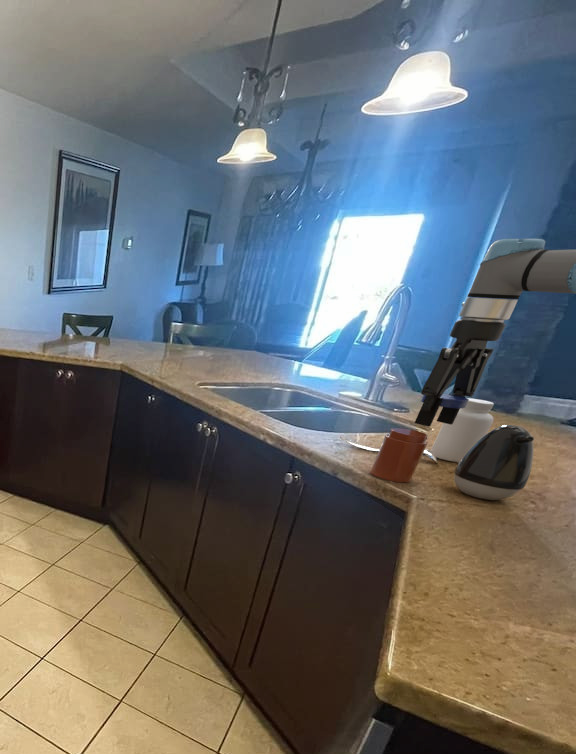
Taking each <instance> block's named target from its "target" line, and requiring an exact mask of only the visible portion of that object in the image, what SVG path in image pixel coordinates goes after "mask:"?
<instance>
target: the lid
mask: <svg viewBox="0 0 576 754" xmlns="http://www.w3.org/2000/svg"><path fill="white" fill-rule="evenodd" d="M426 396H427V395H422V397H421V400H420V402H421V403H423V402H424V400H425V398H426ZM440 398H443V400H442V402H441V404H440V406H439V408H440V407H441V408H443V407H447V408H465V407H466V405H467V403H468V401H469V399H467V398H468V397H465V398H463V397H459V396H454V395H449V394H448V393H443V395H442V396H441V397H440Z"/></svg>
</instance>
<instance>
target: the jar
mask: <svg viewBox="0 0 576 754" xmlns="http://www.w3.org/2000/svg"><path fill="white" fill-rule="evenodd" d="M389 431H390V432H389V433H387V434H385V435H384V438H383V440H382V442H381V446H380V447H379V449H380V450H379V452H378V451H377V452H378V453H377V455H376V457H375V459H374V461H373V464H372V467H371V469H370V471H369V472H370V475H372V476H375V477H377V478H379V479H383V480H386V481H389V482H395V483H410V482H412V481H411V480H412V478H413V476H414V474H415V472H416V470H417V468H418V466H419V463H420V461H421V458H422V457H423V456H424V455H423V452H424V450H425V448H426V449H427V446H428V444H429V442H428V441H427V440H428V436H429V435H428V434H427V433H424V432H422V431H418V430H415V429H414V430H413V429H408V428H399V427H394V428H393V427H392V428H390V429H389Z"/></svg>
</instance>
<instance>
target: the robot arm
mask: <svg viewBox="0 0 576 754" xmlns="http://www.w3.org/2000/svg"><path fill="white" fill-rule="evenodd" d="M545 245H546V240H545V239H542V238H504V239H498V240H496V241H494V242H493V243H492V244H491V245H490V246H489V248H488V250H487V252H486V254H485V255H484V257H483V260H482V261H481V262H480V264H479V267H478V271H477V273H476V274H475V278H474V280H473V283H472V285H471V287H470V289H469V292H468V294H467V296H466V299H465V300H464V301H463V302H462V303H461V309H460V311H459V314H458V317H460V318H461V319H457V320H455V322H454V324H453V327H452V329H451V331H450V333H449V337H451V338H453V339H456V340H455V341H454V343H453V344H452V346H451V347H442V349H441V350H440V351H439V355H438V358H437V361H436V362H435V364H434V366H433V368H432V370H431V371H430V374H429V375H428V378H427V379H426V381H425V383H424V385H423V387H422V388H421V391H420V392H421V394H420V395H422V396H423V395H427V396H426V398H425V400H424V402H422V404H421V407H420V409H419V411H418V414H417V416H416V418H415V420H414V424H416V425H420V426H424V427H428V428H429V427H431V425H432V424H433V421H434V420H435V417H436V415H437V413H438V410H439V408H440V404H441V402H442V400H443V398H440V397H441V396H442V395H443V394H445V392H446V390H447V389H448V388H449V386H450V385H451V383H452V382H453V380H454V384H453V388H452V393H449V394H448V395H454V396H459V397H463V398H466V397H467V398H468V397H469V398H473V396H474V394H475V392H476V391H477V388H478V386H479V383H480V381H481V378H482V377H483V373H484V371H485V368H486V366H487V364H488V361H489V359H490V358H491V355H492V354H493V352H494V348H490V347H487V345H488V342H497V341H498V340H500V338H501V336H502V334H503V332H504V330H505V328H506V323H505V322H504V321H508V320H510V318H511V316H512V314H513V312H514V309H515V307H516V305H517V303H518V300H519V299H520V297H521V295H522V293H523V292H538V293H539V292H540V293H541V292H542V293H559V294H576V249H545ZM459 410H460V408H447V407H441V410H440V412H439V415H438V417H437V419H436V422H438V423H442V424H443V423H446V424H450V425H451V424H453V422H454V420H455V418H456V416H457V414H458V412H459Z"/></svg>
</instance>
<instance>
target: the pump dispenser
mask: <svg viewBox="0 0 576 754" xmlns="http://www.w3.org/2000/svg"><path fill="white" fill-rule="evenodd" d="M534 440H535V438H534V436H532V434H531V433H530V432H529V430H527V429H526V428H524V427H523V426H520V425H516V424H506V425H505V424H504V425H501V426H498V427H495V428H494V429H492V430H490V431H488V432H487V434H486V435H485V436H484V437H482V438H481V439H480V440H479V441H478V442H477V443H476V444H475V445H474V446H473V447H472V448H471V449H470V450H469V451H468V452H467V453H466V454H465V456H464V457H463V458H462V459H461V461H460V462H459V463H457V465H456V466H455V468H454V470H453V474H454V476H453V477H454V478H453V479H454V484H455V486H456V487H457V489H458V490H460V491H461V492H462V493H463V494H465V495H467V496H469V497H473V498H476V499H481V500H487V501H488V500H489V501H500V500H505V499H508V498H511V497H513V496H514V495H516V494H517V493H518V492H519V491H520V490H523V489H524V488H525V487H526V485H527V484H528V481H529V478H530V475H531V471H532V467H533V460H534V448H535V447H534Z"/></svg>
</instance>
